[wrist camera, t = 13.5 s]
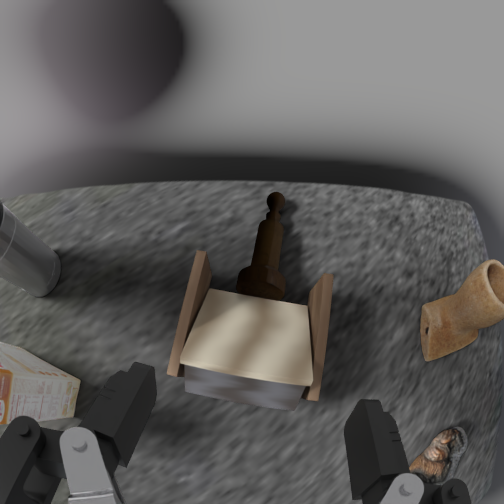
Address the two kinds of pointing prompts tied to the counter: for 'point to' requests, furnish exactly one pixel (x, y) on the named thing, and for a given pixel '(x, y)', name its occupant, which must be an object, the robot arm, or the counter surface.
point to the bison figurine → (440, 457)
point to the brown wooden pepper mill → (266, 257)
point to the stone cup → (463, 312)
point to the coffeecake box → (34, 387)
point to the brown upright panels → (316, 314)
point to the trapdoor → (249, 351)
